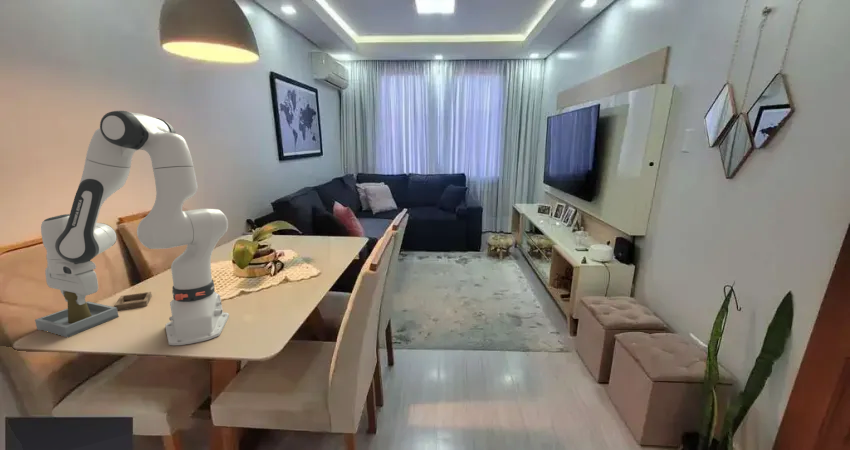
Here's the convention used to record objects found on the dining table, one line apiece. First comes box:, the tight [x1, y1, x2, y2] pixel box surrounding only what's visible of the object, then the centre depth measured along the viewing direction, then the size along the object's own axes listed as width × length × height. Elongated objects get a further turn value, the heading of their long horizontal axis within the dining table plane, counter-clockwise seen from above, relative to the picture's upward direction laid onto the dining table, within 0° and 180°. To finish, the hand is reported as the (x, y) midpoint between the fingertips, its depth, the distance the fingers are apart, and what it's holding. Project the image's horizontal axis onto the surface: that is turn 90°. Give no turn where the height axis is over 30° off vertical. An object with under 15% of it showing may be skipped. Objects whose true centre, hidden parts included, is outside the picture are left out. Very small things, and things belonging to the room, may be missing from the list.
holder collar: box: [113, 291, 153, 311], centre depth 141 cm, size 10×10×2 cm
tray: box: [34, 300, 120, 338], centre depth 126 cm, size 15×15×4 cm
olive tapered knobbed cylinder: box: [63, 291, 92, 324], centre depth 125 cm, size 6×6×11 cm
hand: (75, 302), depth 125 cm, fingers open, 4 cm apart
